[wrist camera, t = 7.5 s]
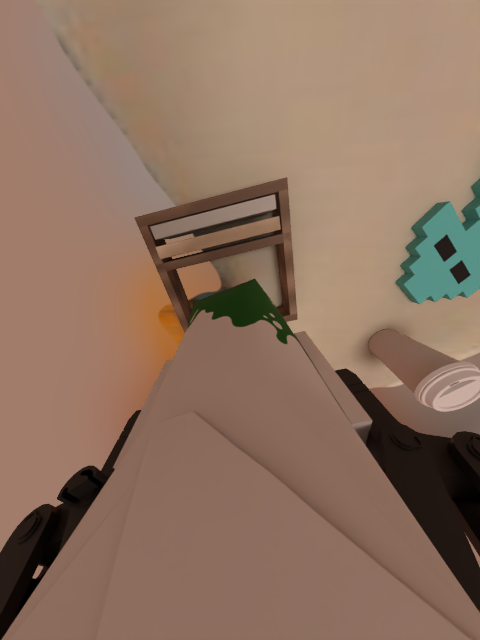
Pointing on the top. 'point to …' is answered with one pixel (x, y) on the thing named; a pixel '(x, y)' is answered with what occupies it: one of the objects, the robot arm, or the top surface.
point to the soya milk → (247, 512)
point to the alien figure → (444, 254)
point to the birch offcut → (219, 237)
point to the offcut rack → (279, 239)
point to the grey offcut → (215, 218)
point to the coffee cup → (427, 371)
